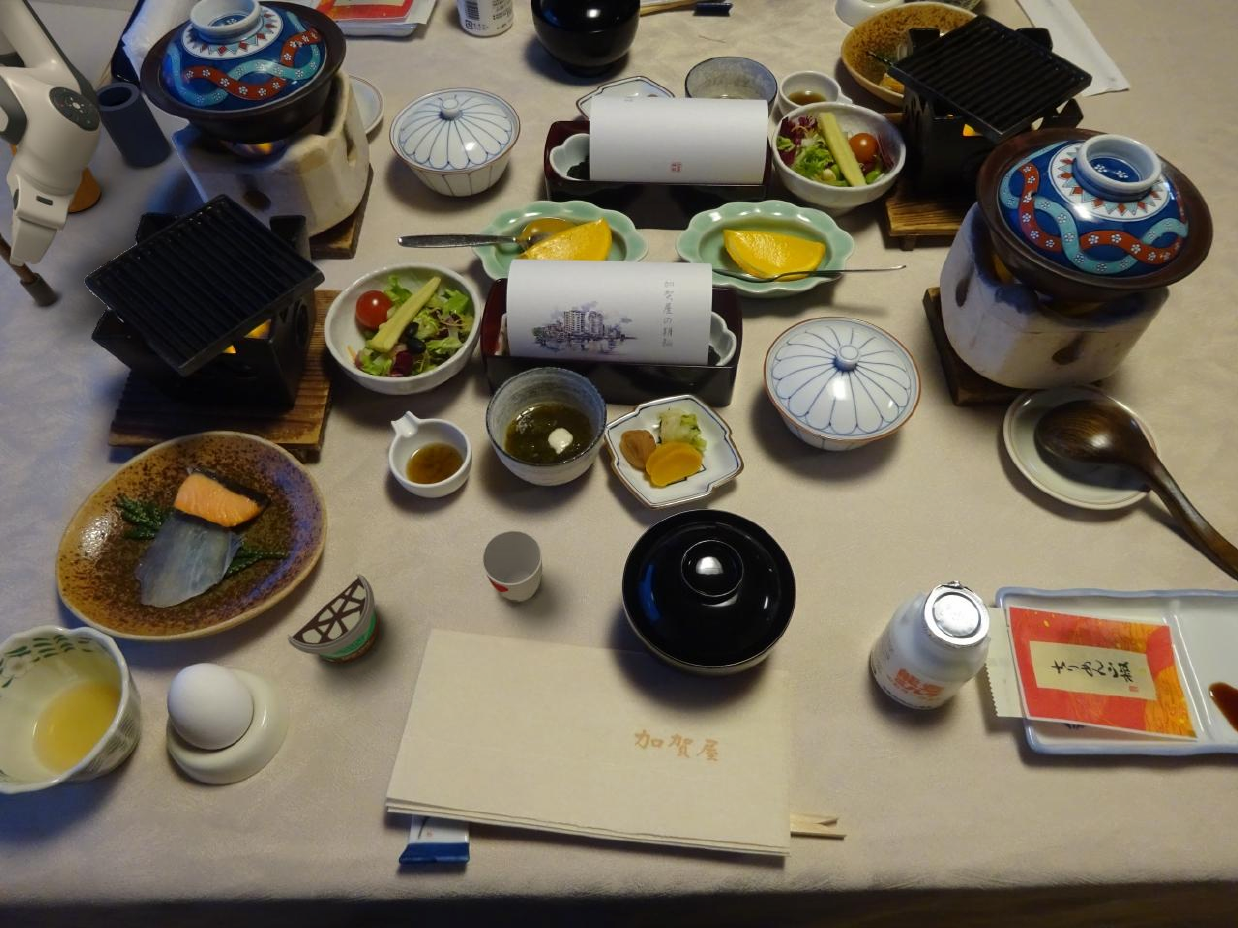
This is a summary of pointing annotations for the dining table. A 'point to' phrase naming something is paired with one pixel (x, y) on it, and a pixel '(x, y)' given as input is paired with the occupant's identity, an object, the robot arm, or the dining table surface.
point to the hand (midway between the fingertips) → (16, 243)
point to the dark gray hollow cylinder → (132, 125)
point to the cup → (513, 564)
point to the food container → (342, 626)
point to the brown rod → (29, 278)
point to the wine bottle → (81, 189)
